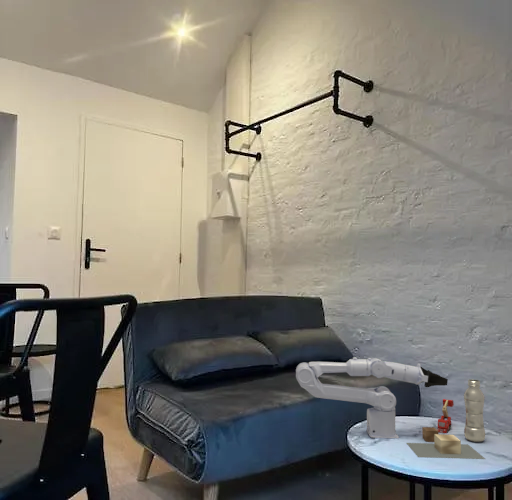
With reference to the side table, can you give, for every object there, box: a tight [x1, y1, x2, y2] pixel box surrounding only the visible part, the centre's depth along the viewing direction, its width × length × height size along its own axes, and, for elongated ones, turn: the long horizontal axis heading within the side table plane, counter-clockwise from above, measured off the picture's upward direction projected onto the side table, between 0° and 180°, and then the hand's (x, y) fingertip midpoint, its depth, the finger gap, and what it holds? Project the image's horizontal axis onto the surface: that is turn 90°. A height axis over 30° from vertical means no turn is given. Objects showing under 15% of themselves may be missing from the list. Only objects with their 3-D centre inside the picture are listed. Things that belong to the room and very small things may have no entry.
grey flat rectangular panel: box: [406, 442, 486, 460], centre depth 151 cm, size 20×13×1 cm, turn 88°
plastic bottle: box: [463, 378, 486, 443], centre depth 162 cm, size 6×7×20 cm
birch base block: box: [433, 433, 462, 454], centre depth 151 cm, size 6×6×4 cm
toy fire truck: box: [436, 398, 454, 434], centre depth 175 cm, size 3×14×10 cm, turn 148°
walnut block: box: [421, 426, 439, 443], centre depth 161 cm, size 4×4×4 cm
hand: (443, 380), depth 166 cm, fingers open, 7 cm apart
